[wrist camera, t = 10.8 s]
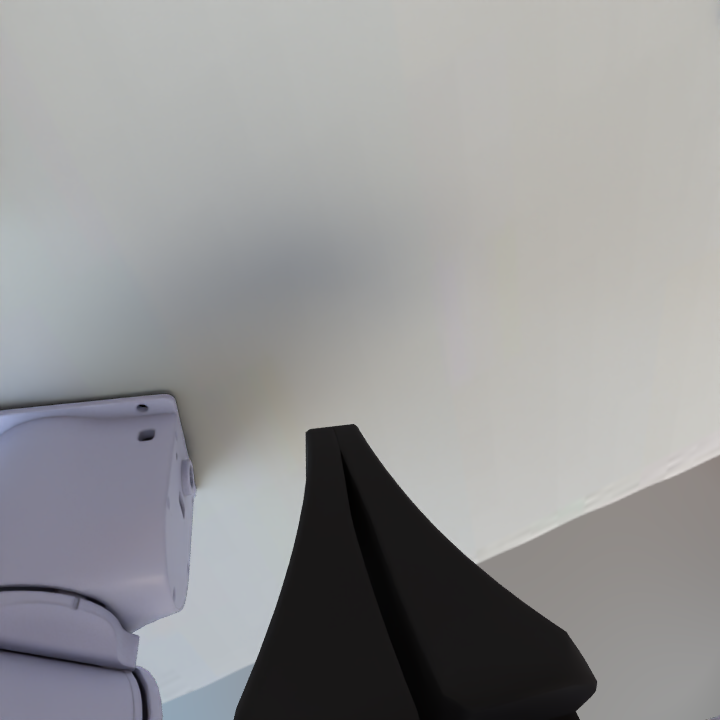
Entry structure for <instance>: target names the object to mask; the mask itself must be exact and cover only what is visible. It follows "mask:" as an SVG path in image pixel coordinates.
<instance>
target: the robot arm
mask: <svg viewBox="0 0 720 720" xmlns="http://www.w3.org/2000/svg"><path fill="white" fill-rule="evenodd" d="M140 404H144V405H146V406H147V407H141V406H139V405H140ZM195 496H196V486H195V482H194V472H193V465H192V462H191V460H190V459H189V456H188V452H187V448H186V443H185V439H184V435H183V430H182V426H181V422H180V418H179V413H178V409H177V405H176V400H175V399H174V397H173V396H171V395H169V394H157V395H147V396H137V397H127V398H117V399H107V400H98V401H88V402H78V403H68V404H58V405H48V406H38V407H29V408H19V409H9V410H0V720H162V717H163V715H162V703H161V697H160V692H159V688H158V686H157V683H156V681H155V679H154V677H153V676H152V675H151V673H150V672H149V671H147V670H146V669H144V668H142V667H140V666H136V659H137V651H138V644H139V636H138V635H135V634H132V633H133V632H135V631H137V630H138V629H140V628H142V627H143V626H145V625H147V624H149V623H152V622H154V621H156V620H159V619H161V618H164V617H167V616H170V615H172V614H175V613H177V612H179V611H181V610H182V609H183V607H184V604H185V600H186V595H187V590H188V581H189V567H190V551H191V535H192V519H193V502H194V498H195ZM596 686H597V680H596V679H595V677H594V675H593V673H592V671H591V670H590V668H589V666H588V664H587V662H586V661H585V659H584V658H583V656H582V654H581V653H580V651H579V650H578V648H577V647H576V645H575V644H574V643H573V641H572V640H571V638H570V637H569V635H568V634H567V632H566V631H564V630H563V629H561V628H560V627H558V626H557V625H555V624H554V623H552V622H551V621H550V620H548V619H547V618H545V617H543V616H542V615H541V614H539V613H538V612H536V611H535V610H534V609H532V608H531V607H530V606H528V605H527V604H525V603H524V602H523V601H521V600H520V599H519V598H517V597H516V596H515V595H513V594H512V593H511V592H509V591H508V590H507V589H505V588H504V587H502V585H500V584H499V583H498V582H496V581H495V580H494V579H493V578H492V577H490V576H489V575H488V574H487V573H486V572H484V571H483V570H482V569H481V568H480V567H479V566H477V565H476V564H475V563H474V562H473V561H471V560H470V559H469V558H468V557H467V556H466V555H464V554H463V553H462V552H461V551H460V550H459V549H458V548H457V547H456V546H455V545H454V544H453V543H451V542H450V541H449V540H448V539H447V538H446V537H445V536H444V535H443V534H442V533H441V532H440V531H439V530H438V529H437V528H436V527H435V526H434V525H433V524H432V523H431V522H430V521H429V520H428V519H427V518H426V516H425V515H424V514H423V513H422V512H421V511H420V510H419V509H418V508H417V507H416V505H415V504H414V503H413V502H412V501H411V500H410V499H409V497H408V496H407V495H406V494H405V493H404V491H403V490H402V489H401V488H400V487H399V485H398V484H397V483H396V481H395V480H394V479H393V478H392V476H391V475H390V474H389V473H388V471H387V470H386V469H385V467H384V466H383V465H382V463H381V462H380V461H379V459H378V458H377V456H376V455H375V453H374V452H373V451H372V449H371V448H370V446H369V445H368V443H367V442H366V440H365V438H364V437H363V435H362V434H361V432H360V430H359V429H358V427H357V426H356V425H354V424H350V425H342V426H333V427H325V428H316V429H310V430H308V431H307V432H306V485H305V493H304V500H303V505H302V510H301V515H300V521H299V526H298V530H297V535H296V539H295V543H294V547H293V551H292V555H291V558H290V562H289V566H288V569H287V573H286V576H285V579H284V583H283V586H282V589H281V592H280V596H279V599H278V602H277V605H276V608H275V611H274V614H273V616H272V619H271V622H270V625H269V627H268V630H267V633H266V636H265V638H264V641H263V644H262V647H261V649H260V652H259V655H258V657H257V660H256V662H255V665H254V667H253V670H252V672H251V674H250V677H249V679H248V682H247V684H246V686H245V689H244V691H243V694H242V696H241V699H240V701H239V703H238V706H237V708H236V712H235V716H234V720H580V719H579V717H578V715H577V713H576V710H578V709H579V708H580V707H581V706H582V705H583V704H584V703H585V702H586V701H587V700H588V699H589V698H590V697H591V696H592V695H593V694H594V693H595V691H596ZM707 720H720V716H717V717H713V718H710V719H707Z"/></svg>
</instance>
